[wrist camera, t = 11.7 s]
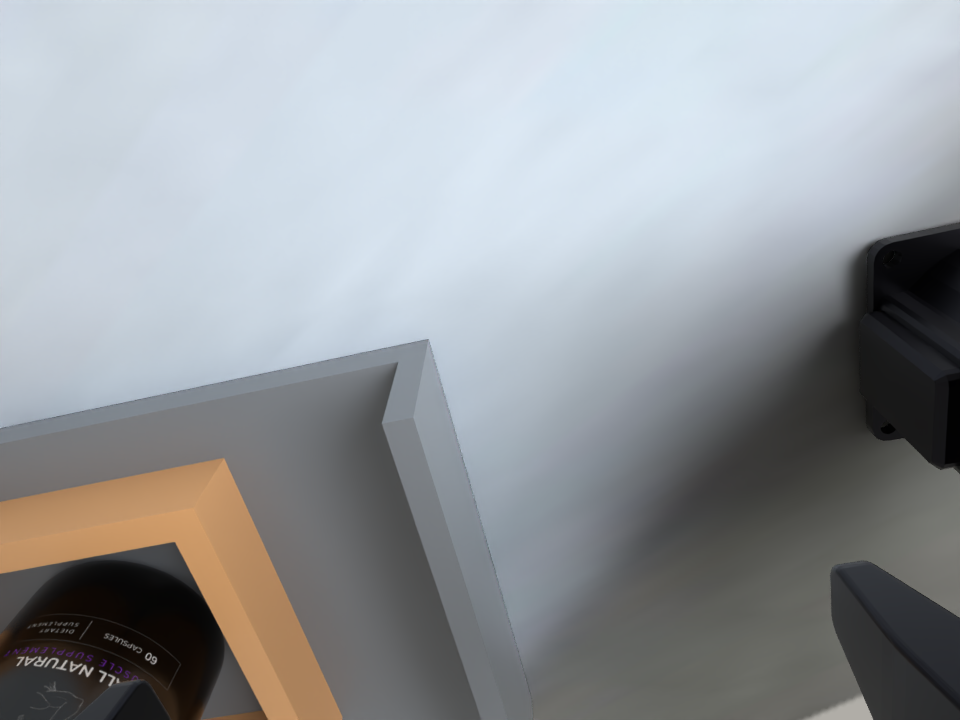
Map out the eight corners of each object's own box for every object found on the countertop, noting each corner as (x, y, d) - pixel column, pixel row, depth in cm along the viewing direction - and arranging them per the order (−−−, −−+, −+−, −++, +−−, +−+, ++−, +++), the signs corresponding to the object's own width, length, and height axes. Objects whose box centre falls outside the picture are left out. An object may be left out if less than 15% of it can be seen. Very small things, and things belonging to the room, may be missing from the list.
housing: (428, 339, 21) (413, 417, 17) (531, 699, 28) (539, 819, 24) (-151, 460, 24) (-291, 555, 19) (72, 767, 30) (4, 888, 26)
